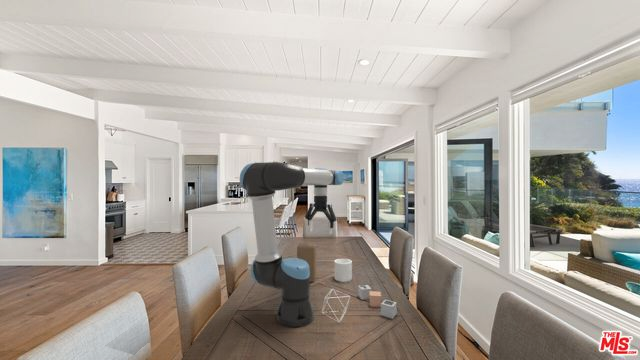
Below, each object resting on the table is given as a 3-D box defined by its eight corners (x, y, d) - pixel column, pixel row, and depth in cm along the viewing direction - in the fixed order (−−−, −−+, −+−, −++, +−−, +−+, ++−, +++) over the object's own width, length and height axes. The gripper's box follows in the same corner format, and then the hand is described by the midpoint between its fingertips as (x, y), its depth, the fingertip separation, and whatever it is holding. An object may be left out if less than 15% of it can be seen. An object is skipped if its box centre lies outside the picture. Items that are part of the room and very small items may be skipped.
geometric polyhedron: (317, 318, 114) (317, 296, 114) (326, 307, 124) (326, 287, 124) (346, 324, 110) (346, 301, 110) (353, 312, 120) (353, 291, 120)
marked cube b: (371, 299, 133) (371, 288, 133) (361, 300, 132) (361, 288, 132) (367, 295, 138) (367, 284, 138) (358, 295, 137) (358, 284, 137)
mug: (353, 281, 155) (353, 263, 155) (335, 282, 155) (335, 263, 155) (349, 274, 168) (349, 257, 168) (333, 274, 167) (333, 257, 167)
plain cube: (380, 307, 124) (380, 296, 124) (369, 306, 125) (369, 295, 125) (380, 302, 129) (380, 291, 129) (369, 301, 130) (369, 291, 130)
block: (316, 276, 164) (316, 242, 164) (314, 282, 154) (314, 246, 154) (299, 276, 165) (299, 242, 165) (296, 282, 155) (296, 246, 155)
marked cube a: (392, 319, 114) (392, 306, 114) (380, 315, 117) (380, 303, 117) (396, 314, 118) (396, 301, 118) (385, 311, 121) (385, 298, 121)
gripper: (342, 195, 154) (342, 234, 154) (307, 194, 168) (306, 229, 168) (335, 196, 148) (335, 236, 147) (299, 194, 162) (299, 231, 162)
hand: (320, 232), depth 158 cm, fingers open, 13 cm apart
